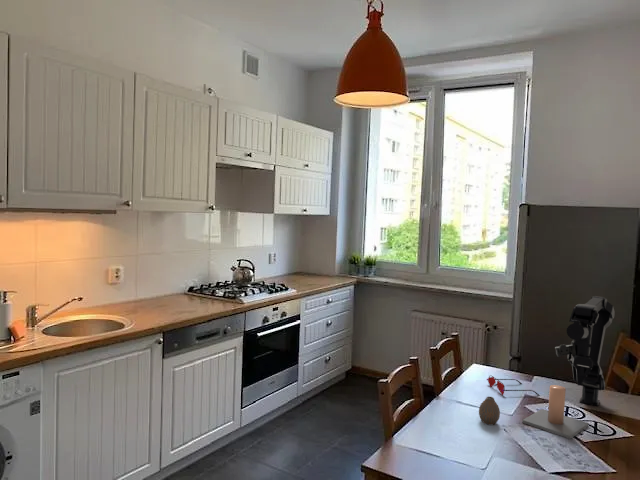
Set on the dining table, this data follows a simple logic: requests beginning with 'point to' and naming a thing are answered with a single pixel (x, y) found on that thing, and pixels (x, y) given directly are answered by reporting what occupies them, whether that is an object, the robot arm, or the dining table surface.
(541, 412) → the tile
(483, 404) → the vase
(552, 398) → the tan cylinder
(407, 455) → the dining table surface
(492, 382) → the glasses
